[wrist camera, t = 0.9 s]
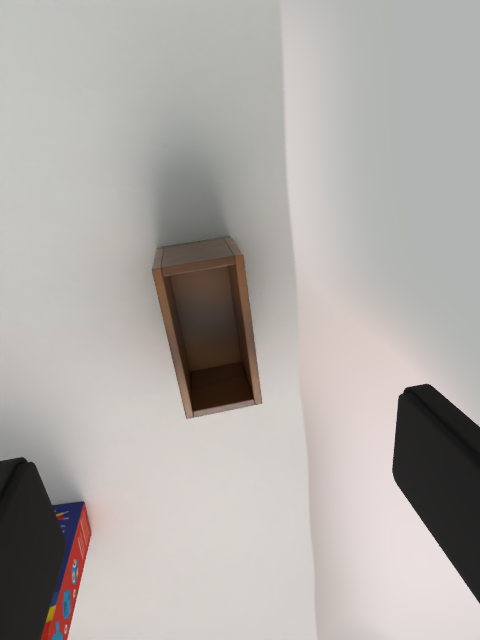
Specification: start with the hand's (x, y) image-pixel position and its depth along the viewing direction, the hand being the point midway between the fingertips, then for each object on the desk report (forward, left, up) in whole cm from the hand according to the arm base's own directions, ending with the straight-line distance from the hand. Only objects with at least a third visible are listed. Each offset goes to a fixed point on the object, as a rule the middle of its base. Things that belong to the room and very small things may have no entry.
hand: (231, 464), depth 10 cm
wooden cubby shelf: (+2, +2, -18) cm, 18 cm away
